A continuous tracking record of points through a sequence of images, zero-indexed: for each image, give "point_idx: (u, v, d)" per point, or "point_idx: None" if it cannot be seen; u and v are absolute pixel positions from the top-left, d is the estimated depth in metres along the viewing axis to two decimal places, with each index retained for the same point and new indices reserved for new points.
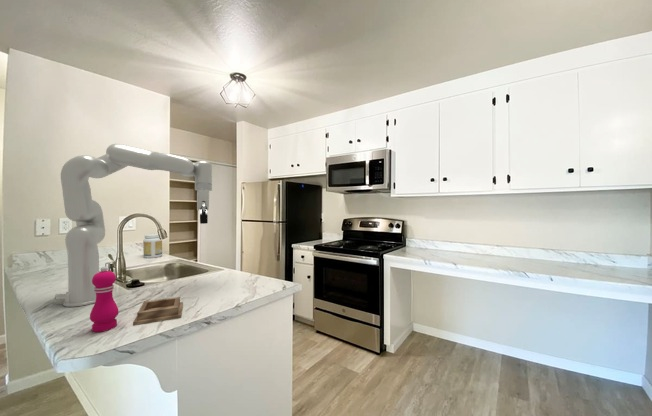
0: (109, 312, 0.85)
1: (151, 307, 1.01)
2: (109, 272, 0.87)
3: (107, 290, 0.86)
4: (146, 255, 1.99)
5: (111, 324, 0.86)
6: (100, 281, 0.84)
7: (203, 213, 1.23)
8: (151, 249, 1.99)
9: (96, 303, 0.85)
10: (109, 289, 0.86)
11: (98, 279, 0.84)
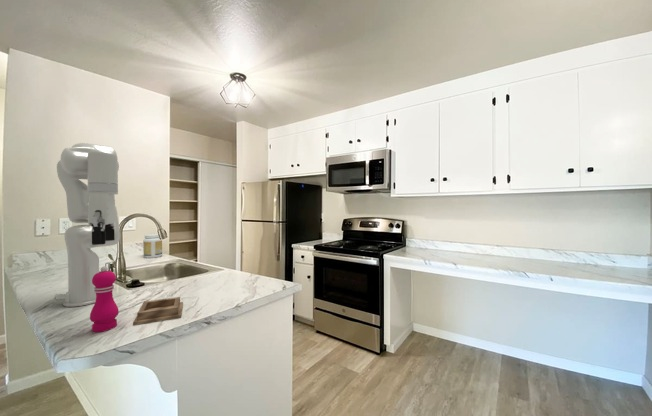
0: (109, 312, 0.85)
1: (151, 307, 1.01)
2: (109, 272, 0.87)
3: (107, 290, 0.86)
4: (146, 255, 1.99)
5: (111, 324, 0.86)
6: (100, 281, 0.84)
7: (96, 229, 0.81)
8: (151, 249, 1.99)
9: (96, 303, 0.85)
10: (109, 289, 0.86)
11: (98, 279, 0.84)
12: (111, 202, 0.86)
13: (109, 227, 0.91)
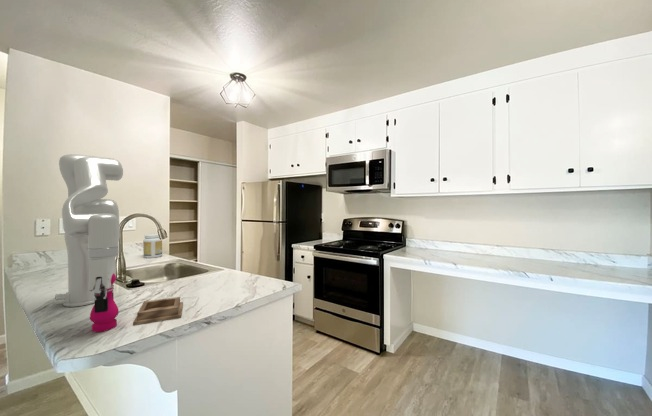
0: (109, 312, 0.85)
1: (151, 307, 1.01)
2: None
3: (107, 290, 0.86)
4: (146, 255, 1.99)
5: (111, 324, 0.86)
6: None
7: (98, 298, 0.83)
8: (151, 249, 1.99)
9: None
10: (109, 289, 0.86)
11: None
12: (112, 266, 0.87)
13: None
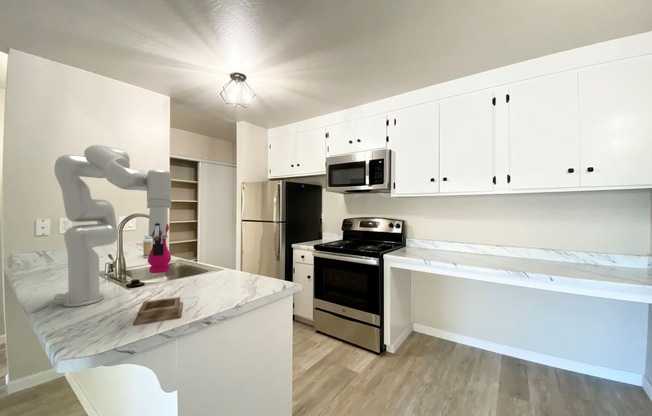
0: (164, 256, 0.96)
1: (151, 307, 1.01)
2: None
3: None
4: (146, 255, 1.99)
5: (166, 267, 0.97)
6: None
7: (157, 242, 0.93)
8: None
9: None
10: (164, 236, 0.97)
11: None
12: (166, 216, 0.97)
13: None
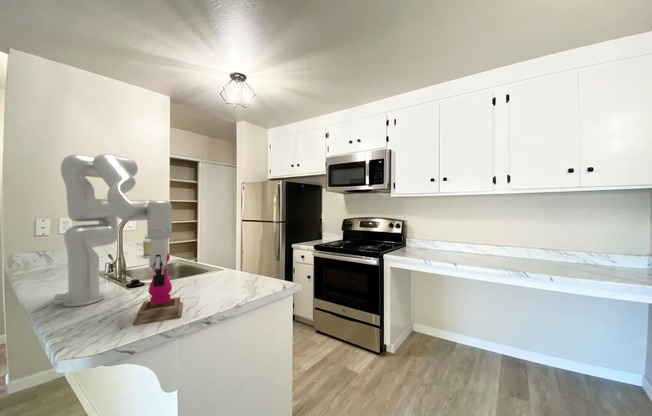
0: (165, 287, 0.96)
1: (151, 307, 1.01)
2: None
3: None
4: (146, 255, 1.99)
5: (167, 297, 0.97)
6: None
7: (157, 273, 0.94)
8: None
9: None
10: (165, 266, 0.97)
11: None
12: (167, 246, 0.98)
13: None
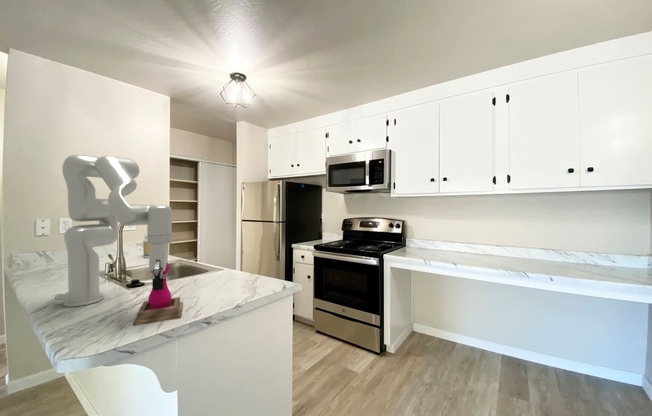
0: (165, 297, 0.96)
1: None
2: None
3: (163, 277, 0.97)
4: (146, 255, 1.99)
5: (166, 307, 0.97)
6: None
7: (156, 277, 0.92)
8: None
9: None
10: (164, 276, 0.97)
11: None
12: (167, 251, 0.98)
13: None
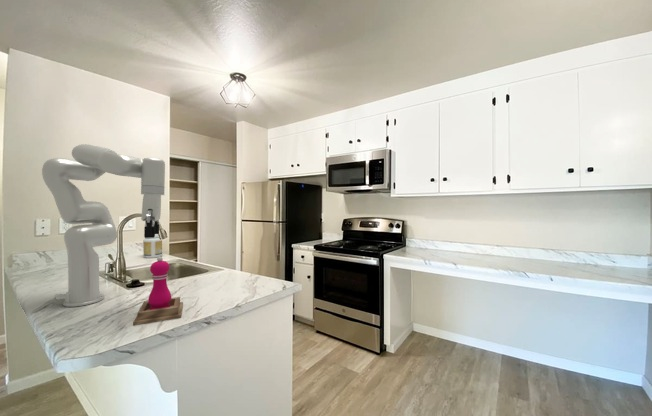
0: (165, 297, 0.96)
1: None
2: (164, 262, 0.98)
3: (163, 277, 0.97)
4: (146, 255, 1.99)
5: None
6: (158, 269, 0.95)
7: (148, 225, 0.96)
8: (151, 249, 1.99)
9: (154, 289, 0.96)
10: (164, 277, 0.97)
11: (156, 268, 0.95)
12: (159, 202, 1.02)
13: (155, 223, 1.07)
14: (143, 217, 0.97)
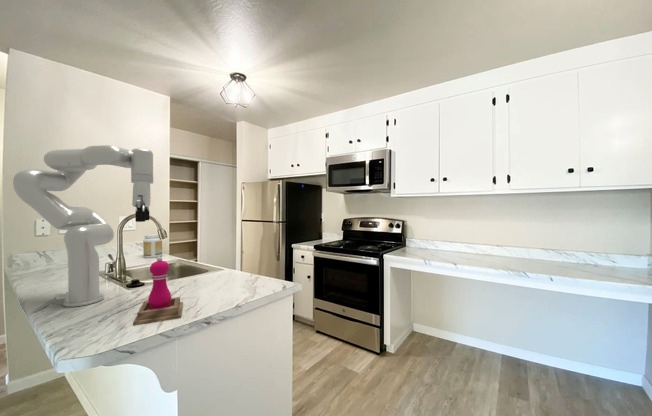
0: (164, 297, 0.96)
1: None
2: (164, 262, 0.98)
3: (163, 277, 0.97)
4: (146, 255, 1.99)
5: None
6: (158, 269, 0.95)
7: (139, 209, 1.04)
8: (151, 249, 1.99)
9: (153, 289, 0.96)
10: (164, 277, 0.97)
11: (156, 268, 0.95)
12: (149, 189, 1.10)
13: (145, 209, 1.15)
14: (134, 203, 1.05)
